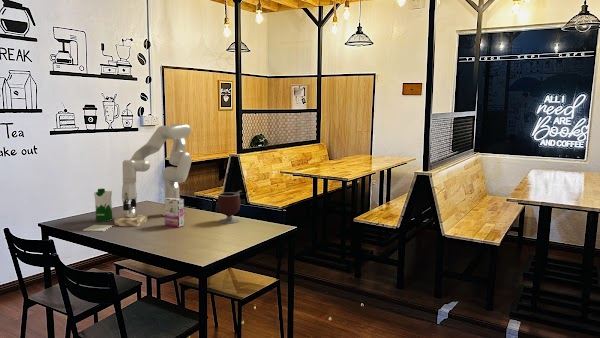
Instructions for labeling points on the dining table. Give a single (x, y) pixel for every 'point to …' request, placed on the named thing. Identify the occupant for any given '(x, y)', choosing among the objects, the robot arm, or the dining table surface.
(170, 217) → the candy bar box
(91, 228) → the rubber mat
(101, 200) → the milk carton
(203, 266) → the dining table surface
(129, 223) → the housing block
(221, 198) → the mate gourd
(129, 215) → the silver metal can
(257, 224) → the dining table surface
